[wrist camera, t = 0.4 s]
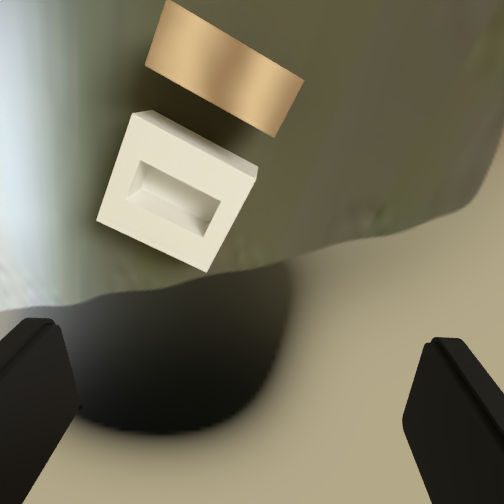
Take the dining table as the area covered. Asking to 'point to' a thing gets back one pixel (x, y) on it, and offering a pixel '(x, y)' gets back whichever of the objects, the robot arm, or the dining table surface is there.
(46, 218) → the dining table surface
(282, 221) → the dining table surface
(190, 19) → the tan brown rectangular block
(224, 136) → the dining table surface
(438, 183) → the dining table surface
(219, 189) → the white recessed tray
